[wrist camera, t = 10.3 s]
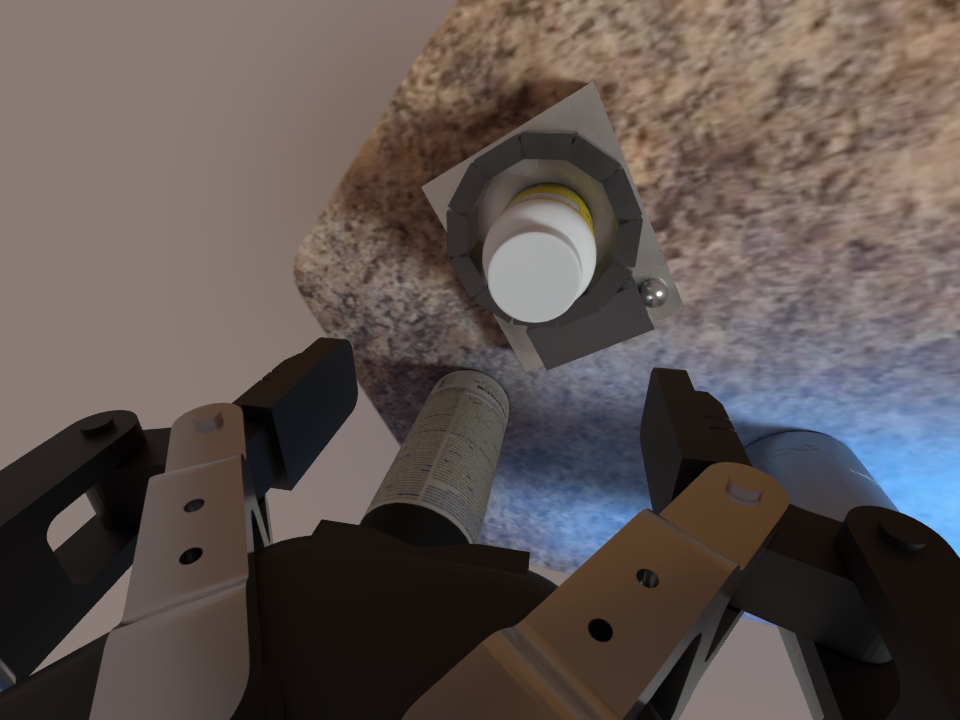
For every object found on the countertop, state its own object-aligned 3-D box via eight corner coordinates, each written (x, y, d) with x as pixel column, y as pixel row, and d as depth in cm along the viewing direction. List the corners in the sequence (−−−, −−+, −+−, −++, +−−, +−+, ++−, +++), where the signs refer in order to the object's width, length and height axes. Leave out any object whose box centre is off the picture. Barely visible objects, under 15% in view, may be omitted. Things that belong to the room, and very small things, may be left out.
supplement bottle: (576, 281, 29) (574, 353, 21) (493, 258, 30) (457, 319, 21) (606, 193, 27) (617, 234, 18) (514, 169, 27) (483, 198, 18)
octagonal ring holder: (676, 293, 31) (695, 330, 26) (530, 353, 36) (521, 395, 30) (592, 83, 27) (594, 77, 22) (434, 180, 31) (404, 195, 26)
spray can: (431, 427, 41) (321, 663, 23) (431, 359, 37) (304, 576, 20) (506, 440, 40) (450, 695, 23) (514, 371, 37) (455, 608, 19)
